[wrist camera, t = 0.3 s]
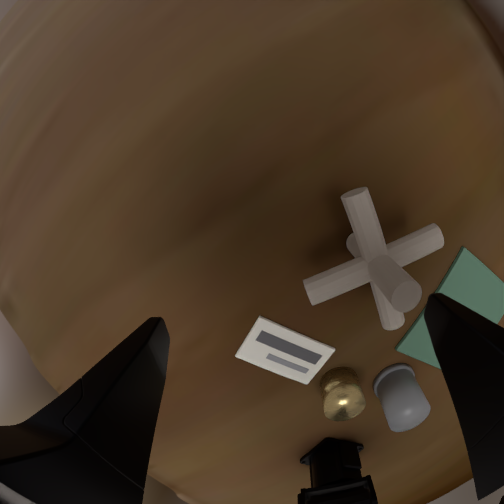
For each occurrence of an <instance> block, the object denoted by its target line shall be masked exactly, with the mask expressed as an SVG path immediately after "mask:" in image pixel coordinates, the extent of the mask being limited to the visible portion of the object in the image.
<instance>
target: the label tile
mask: <svg viewBox="0 0 504 504" xmlns="http://www.w3.org/2000/svg"><path fill="white" fill-rule="evenodd" d="M334 351H335V348H334V347H331V346H329V345H326V344H324V343H321V342H319V341H317V340H314V339H312V338H310V337H307V336H305V335H303V334H300V333H298V332H296V331H293V330H291V329H289V328H287V327H284V326H282V325H280V324H278V323H275V322H273V321H271V320H269V319H267V318H264V317H262V316H260V315H259V317H258V319H257V320H256V322H255V324H254V325H253V327H252V329H251V330H250V332H249V333H248V335H247V337H246V338H245V340H244V342H243V343H242V345H241V346H240V348H239V350H238V351H237V353H236V354H235V357H237V358H240V359H242V360H244V361H247V362H249V363H252V364H254V365H257V366H259V367H261V368H264V369H266V370H269V371H272V372H274V373H277V374H279V375H282V376H285V377H287V378H290V379H293V380H295V381H298V382H301V383H304V384H308V383H309V382H310V381H311V379H312V378H313V377H314V376H315V375H316V373H317V372H318V371H319V370H320V369H321V367H322V366H323V365H324V364H325V362H326V361H327V360H328V359H329V357H330V356H331V355H332V354H333V352H334Z"/></svg>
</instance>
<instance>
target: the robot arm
mask: <svg viewBox="0 0 504 504" xmlns="http://www.w3.org/2000/svg"><path fill="white" fill-rule="evenodd" d="M424 320H425V323H426V326H427V329H428V332H429V335H430V339H431V342H432V345H433V349H434V352H435V355H436V357H437V360H438V363H439V365H440V368H441V370H442V373H443V375H444V378H445V381H446V384H447V386H448V389H449V392H450V395H451V398H452V401H453V404H454V407H455V410H456V413H457V416H458V419H459V422H460V426H461V429H462V433H463V436H464V440H465V443H466V447H467V451H468V456H469V460H470V464H471V468H472V473H473V477H474V482H475V487H476V493H477V498H478V500H480V499H482V498H484V497H486V496H488V495H489V494H491V493H493V492H494V491H496V490H497V489H499V488H501V487H502V486H504V328H503V327H501V326H499V325H497V324H496V323H494V322H492V321H491V320H489V319H487V318H485V317H484V316H482V315H480V314H478V313H477V312H475V311H473V310H471V309H470V308H468V307H466V306H464V305H463V304H461V303H459V302H457V301H455V300H453V299H452V298H450V297H448V296H446V295H444V294H442V293H440V292H438V293H432V294H430V295H429V297H428V301H427V304H426V307H425V311H424ZM169 344H170V337H169V333H168V331H167V328H166V325H165V322H164V320H163V318H161V317H151V318H149V319H148V320H146V321H145V322H144V323H143V324H142V325H141V326H139V327H138V328H137V329H136V330H135V331H134V332H133V333H131V334H130V335H129V336H128V337H127V338H126V339H124V340H123V341H122V342H121V343H120V344H119V345H117V346H116V347H115V348H114V349H113V350H112V351H111V352H109V353H108V354H107V355H106V356H105V357H104V358H103V359H101V360H100V361H99V362H98V363H97V364H96V365H95V366H93V367H92V368H91V369H90V370H89V371H88V372H87V373H85V374H84V375H83V376H82V377H81V378H80V379H79V380H77V381H76V382H75V383H74V384H73V385H72V386H71V387H69V388H68V389H67V390H66V391H65V392H63V393H62V394H61V395H60V396H58V397H57V398H56V399H54V400H53V401H52V402H51V403H49V404H48V405H46V406H45V407H44V408H42V409H41V410H40V411H38V412H37V413H36V414H34V415H33V416H31V417H30V418H29V419H27V420H26V421H24V422H22V423H20V424H17V425H11V426H0V504H142V501H143V494H144V487H145V481H146V475H147V469H148V464H149V458H150V453H151V448H152V442H153V437H154V432H155V427H156V422H157V417H158V413H159V408H160V403H161V399H162V394H163V390H164V385H165V379H166V371H167V361H168V353H169ZM363 448H364V447H363V445H361V444H356V443H351V442H346V441H341V440H336V439H332V438H326V439H324V440H323V441H322V442H321V443H320V444H319V445H317V446H316V447H315V448H314V449H313V450H311V451H310V452H309V453H308V454H306V455H305V456H304V457H303V458H301V459H300V463H301V464H306V465H310V478H311V488H308V489H305V488H303V489H301V493H300V494H298V504H378V501H377V496H376V493H375V489H374V486H373V483H372V479H371V476H370V475H367V476H366V477H362V476H361V471H360V469H361V468H362V467H361V462H360V458H359V452H360V451H361V450H362V449H363ZM499 504H504V496H502V498H501V501H500V503H499Z"/></svg>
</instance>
